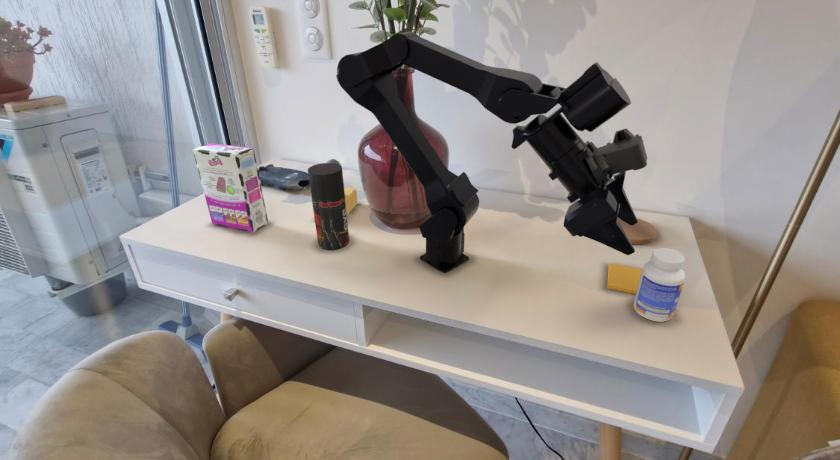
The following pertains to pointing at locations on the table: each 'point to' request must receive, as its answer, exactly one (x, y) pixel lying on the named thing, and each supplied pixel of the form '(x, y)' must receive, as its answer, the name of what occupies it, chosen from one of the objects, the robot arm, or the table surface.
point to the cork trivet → (639, 232)
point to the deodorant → (329, 205)
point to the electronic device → (283, 178)
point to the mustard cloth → (623, 278)
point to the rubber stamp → (347, 193)
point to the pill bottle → (660, 285)
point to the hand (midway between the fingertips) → (633, 237)
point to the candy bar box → (231, 186)
